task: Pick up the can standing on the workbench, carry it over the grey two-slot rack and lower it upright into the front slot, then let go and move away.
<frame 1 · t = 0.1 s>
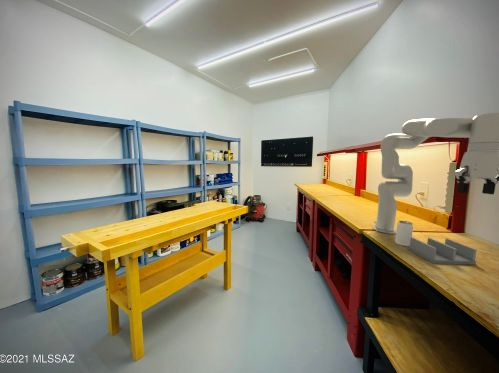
hand: (475, 193, 72), 31 cm above the workbench, tool pointing down, fingers open, 9 cm apart
can: (402, 244, 100), on the workbench
rack: (439, 256, 87), on the workbench
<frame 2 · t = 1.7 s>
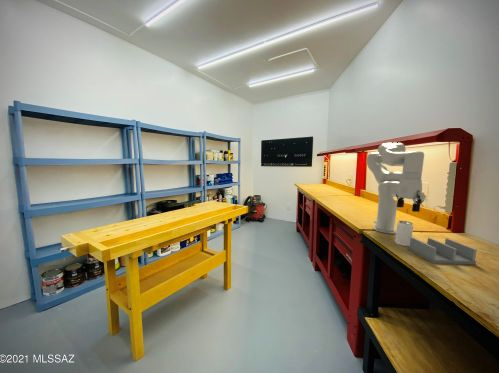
hand: (407, 209, 97), 19 cm above the workbench, tool pointing down, fingers open, 9 cm apart
nothing on the workbench moved.
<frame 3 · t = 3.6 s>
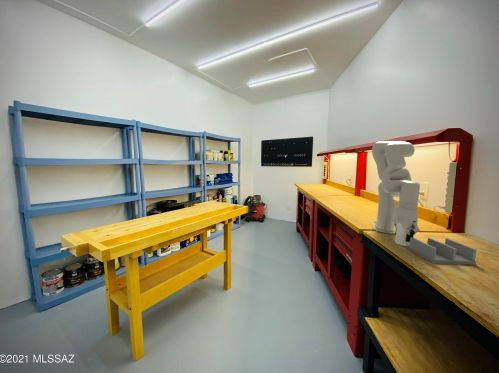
hand: (403, 238, 99), 3 cm above the workbench, tool pointing down, fingers closed on can, 6 cm apart
can: (402, 244, 100), on the workbench, touching gripper
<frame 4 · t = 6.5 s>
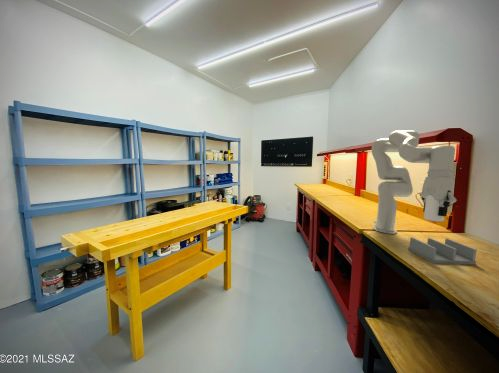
hand: (434, 213, 85), 20 cm above the workbench, tool pointing down, fingers closed on can, 6 cm apart
can: (433, 220, 85), point 17 cm above the workbench, touching gripper
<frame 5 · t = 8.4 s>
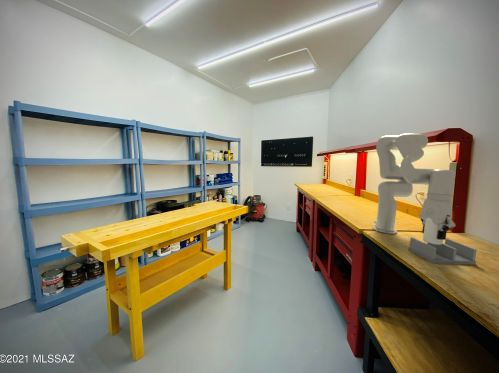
hand: (433, 235, 85), 10 cm above the workbench, tool pointing down, fingers closed on can, 6 cm apart
can: (432, 242, 86), point 7 cm above the workbench, touching gripper
when the fingers open (6 cm above the workbench, at t = 9.7 s): can drops 1 cm, resting on rack.
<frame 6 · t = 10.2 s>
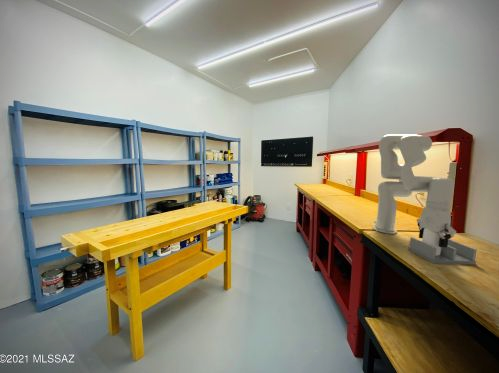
hand: (432, 242, 86), 7 cm above the workbench, tool pointing down, fingers open, 9 cm apart
can: (430, 253, 87), point 1 cm above the workbench, touching rack
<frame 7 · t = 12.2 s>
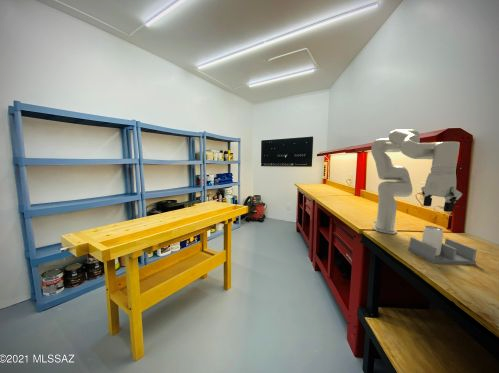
hand: (436, 208, 85), 22 cm above the workbench, tool pointing down, fingers open, 9 cm apart
nothing on the workbench moved.
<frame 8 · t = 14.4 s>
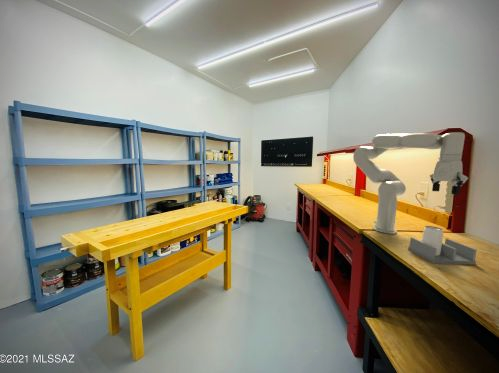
hand: (444, 192, 95), 28 cm above the workbench, tool pointing down, fingers open, 9 cm apart
nothing on the workbench moved.
at the end: can 0.2 cm from the target spot on the rack, point 1.3 cm above the rack's base; can tilted 0°; the gripper is holding nothing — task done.
